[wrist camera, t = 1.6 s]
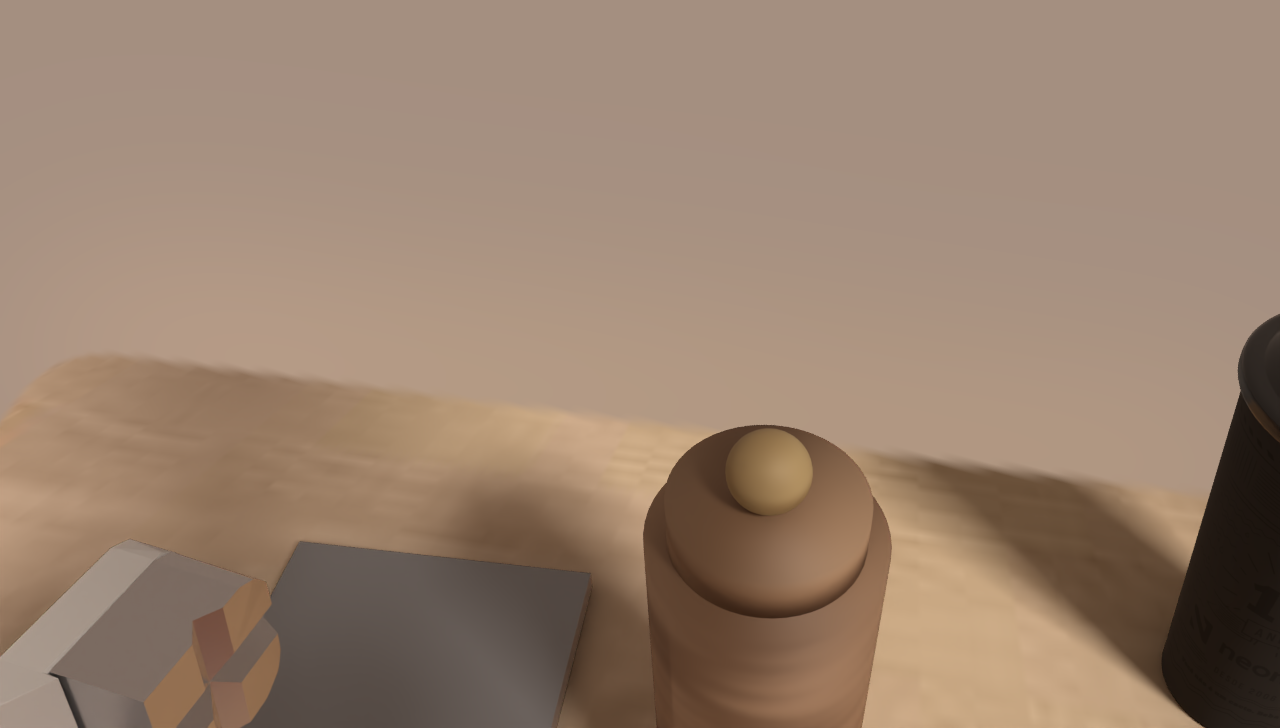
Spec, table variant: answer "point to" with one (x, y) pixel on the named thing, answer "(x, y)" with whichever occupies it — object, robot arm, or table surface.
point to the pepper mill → (764, 583)
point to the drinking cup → (1236, 565)
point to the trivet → (420, 641)
